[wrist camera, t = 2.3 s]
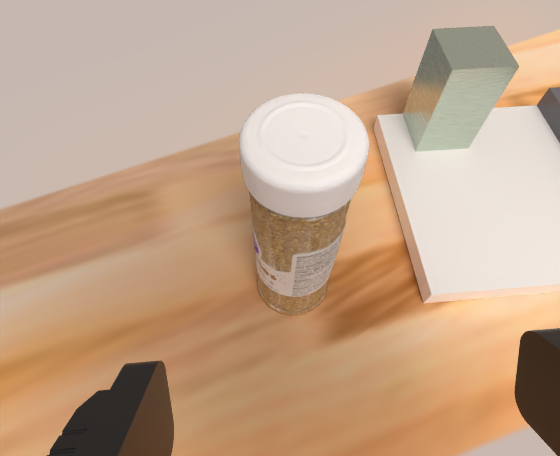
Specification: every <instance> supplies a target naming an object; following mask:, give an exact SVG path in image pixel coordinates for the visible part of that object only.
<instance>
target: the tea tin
mask: <svg viewBox="0 0 560 456" xmlns="http://www.w3.org/2000/svg"><path fill="white" fill-rule="evenodd" d="M518 67H519V65H518V64H517V62H516V60H515V59H514V57H513V56H512V54H511V52H510V51H509V49H508V48H507V46H506V44H505V43H504V41H503V40H502V38H501V36H500V35H499V33H498V32H497V30H496V28H495V27H494V26H482V27H464V28H444V29H433V30H432V32H431V35H430V38H429V41H428V44H427V47H426V49H425V52H424V55H423V57H422V60H421V63H420V66H419V69H418V72H417V74H416V77H415V80H414V82H413V85H412V88H411V91H410V94H409V96H408V99H407V102H406V105H405V108H404V110H403V113H402V114H403V117H404V120H405V123H406V126H407V128H408V131H409V134H410V137H411V140H412V143H413V146H414V149H415V151H416V152H420V151H435V150H451V149H466V148H469V147H470V145H471V143H472V142H473V140H474V138H475V137H476V135H477V134H478V132H479V130H480V129H481V127H482V125H483V124H484V122H485V121H486V119H487V117H488V116H489V114H490V113H491V111H492V109H493V108H494V106H495V104H496V103H497V101H498V100H499V98H500V96H501V95H502V93H503V91H504V90H505V88H506V87H507V85H508V83H509V82H510V80H511V78H512V77H513V75H514V74H515V72H516V70H517V69H518Z"/></svg>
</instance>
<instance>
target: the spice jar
mask: <svg viewBox="0 0 560 456" xmlns="http://www.w3.org/2000/svg"><path fill="white" fill-rule="evenodd" d="M239 152H240V163H241V170H242V176H243V180H244V183H245V185H246V187H247V189H248V190H249V193H250V201H251V211H252V229H253V237H254V247H255V259H256V266H257V270H258V276H257V285H258V291H259V293H260V295H261V297H262V299H263V300H264V302H265V303H266V304H267V305H268V306H269V307H270V308H272V309H273V310H275V311H277V312H279V313H282V314H287V315H302V314H305V313H307V312H309V311H311V310H313V309H314V308H316V307H317V306H318V305H319V304H320V303H321V301H322V300H323V299H324V297H325V293H326V291H327V287H328V278H329V276H330V274H331V271H332V268H333V265H334V261H335V258H336V254H337V251H338V248H339V244H340V241H341V237H342V234H343V230H344V227H345V223H346V215H347V211H348V208H349V204H350V201H351V198H352V197H353V195H354V194H355V193H356V191H357V189H358V187H359V185H360V182H361V179H362V176H363V173H364V169H365V165H366V161H367V157H368V152H369V139H368V135H367V131H366V128H365V126H364V125H363V123H362V121H361V120H360V119H359V117H358V116H357V115H356V114H355V113H354V112H353V111H352V110H351V109H349V108H348V107H347V106H345V105H344V104H342V103H340V102H338V101H336V100H334V99H331V98H329V97H326V96H322V95H318V94H310V93H296V94H288V95H283V96H279V97H276V98H273V99H271V100H269V101H267V102H265V103H263V104H262V105H260V106H259V107H257V108H256V109H255V110H254V111H253V112H252V113H251V114H250V115H249V116H248V118H247V119H246V120H245V122H244V124H243V127H242V129H241V132H240V136H239Z"/></svg>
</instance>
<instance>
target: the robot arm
mask: <svg viewBox="0 0 560 456" xmlns="http://www.w3.org/2000/svg"><path fill="white" fill-rule="evenodd" d="M515 399H516V403H517V406H518V409H519V411H520V413H521V415H522V416H523V418H524V419H525V421H526V422H527V423H528V424H529V425H530V426H531V427H532V429H533V430H534V431H535V432H536V433H537V434H538V435H539V436H540V437H541V438H542V439H543V440H544V442H545V443H546V444H547V445H548V446H549V447H550V448H551V449H552V450H553V451H554V452H555V453H556V455H557V456H560V328H557V329H545V330H533V331H527V332H525V333H524V334H523V335H522V337H521V340H520V347H519V356H518V365H517V374H516V383H515ZM173 439H174V422H173V415H172V408H171V402H170V395H169V389H168V382H167V376H166V369H165V365H164V363H163V362H162V361H151V362H139V363H127V364H125V365H124V366H123V368H122V369H121V371H120V373H119V375H118V376H117V378H116V380H115V382H114V383H113V385H112V387H111V389H110V390H101V391H97V392H96V393H95V394H94V395H93V396H92V397H90V398H89V399H88V400H87V401H86V402H85V403H83V404H82V405H81V406H80V407H79V408H78V409H76V411H75V413H74V414H73V416H72V417H71V419H70V420H69V422H68V423H67V425H66V426H65V428H64V429H63V431H62V436H59V437H58V439H57V440H56V442H55V443H54V445H53V446H52V448H51V449H50V454H49V455H47V456H171V453H172V448H173Z"/></svg>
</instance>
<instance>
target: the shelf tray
mask: <svg viewBox="0 0 560 456" xmlns="http://www.w3.org/2000/svg"><path fill="white" fill-rule="evenodd" d="M374 133H375V136H376V140H377V143H378V147H379V150H380V154H381V157H382V161H383V164H384V168H385V171H386V175H387V178H388V181H389V185H390V188H391V192H392V195H393V199H394V202H395V206H396V209H397V213H398V216H399V220H400V223H401V227H402V230H403V234H404V237H405V241H406V244H407V248H408V251H409V255H410V258H411V262H412V265H413V269H414V272H415V276H416V279H417V283H418V286H419V290H420V293H421V296H422V300H423V303H433V302H445V301H458V300H470V299H482V298H494V297H506V296H518V295H530V294H542V293H554V292H560V87H557V88H549V89H548V91H547V92H546V93H545V95H544V96H543V97H542V99H541V100H540V101H539V103H538V104H537V105H535V106H518V107H502V108H493V109H492V111H491V113H490V114H489V116H488V117H487V119H486V121H485V122H484V124H483V125H482V127H481V129H480V130H479V132H478V134H477V135H476V137H475V138H474V140H473V142H472V143H471V145H470V147H469V148H466V149H451V150H435V151H420V152H416V151H415V149H414V146H413V143H412V140H411V137H410V134H409V131H408V128H407V126H406V123H405V120H404V117H403V114H388V115H377V118H376V122H375V125H374Z"/></svg>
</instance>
